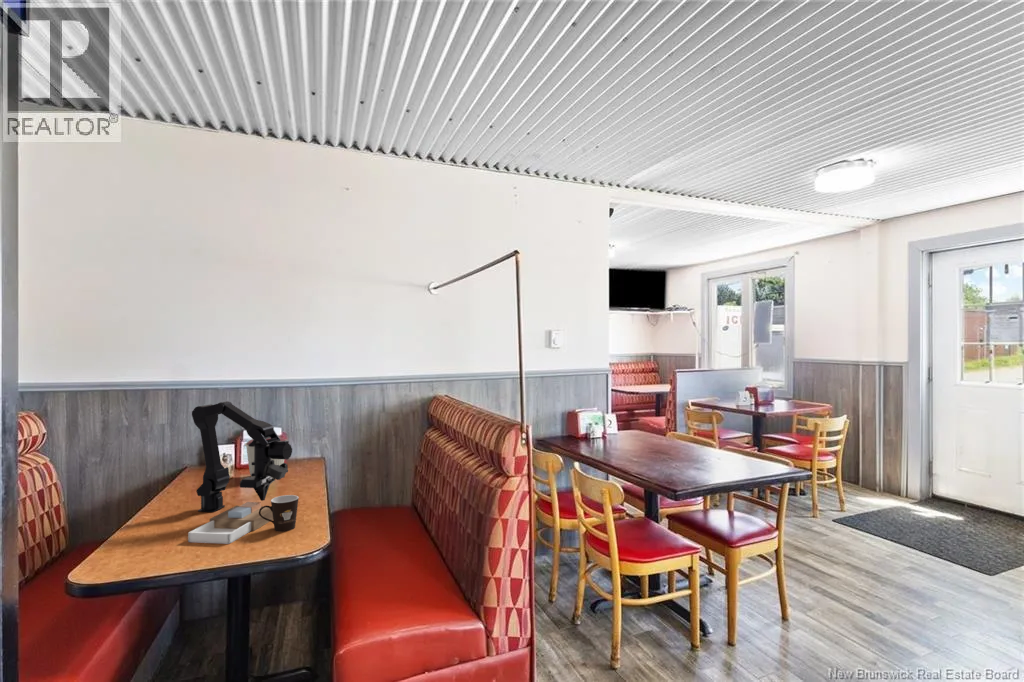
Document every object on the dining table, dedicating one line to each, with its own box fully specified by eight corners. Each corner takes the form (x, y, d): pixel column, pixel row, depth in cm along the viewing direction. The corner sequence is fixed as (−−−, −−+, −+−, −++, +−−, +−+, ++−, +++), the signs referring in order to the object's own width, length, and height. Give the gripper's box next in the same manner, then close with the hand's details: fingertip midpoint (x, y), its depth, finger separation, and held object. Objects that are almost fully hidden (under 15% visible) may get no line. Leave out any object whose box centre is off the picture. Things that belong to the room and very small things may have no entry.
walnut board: (209, 529, 171) (209, 518, 171) (236, 515, 185) (236, 505, 185) (254, 530, 169) (254, 520, 169) (277, 516, 183) (277, 506, 183)
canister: (236, 482, 228) (236, 435, 228) (258, 472, 246) (258, 428, 246) (275, 482, 227) (275, 436, 227) (294, 472, 245) (294, 429, 245)
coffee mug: (301, 523, 177) (301, 494, 177) (295, 532, 168) (295, 502, 168) (265, 525, 175) (265, 496, 175) (257, 534, 166) (257, 504, 166)
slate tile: (228, 517, 172) (228, 511, 172) (237, 512, 177) (237, 507, 177) (241, 518, 171) (241, 512, 171) (250, 513, 176) (250, 507, 176)
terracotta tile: (238, 512, 178) (238, 506, 178) (247, 507, 182) (247, 501, 182) (252, 512, 177) (252, 506, 177) (260, 507, 182) (260, 502, 182)
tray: (188, 542, 160) (188, 532, 160) (212, 529, 171) (212, 520, 171) (229, 543, 158) (229, 534, 158) (251, 530, 169) (251, 521, 169)
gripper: (268, 465, 177) (268, 509, 177) (296, 453, 196) (296, 493, 196) (238, 464, 179) (238, 508, 178) (269, 452, 197) (269, 492, 197)
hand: (262, 500), depth 187 cm, fingers closed
